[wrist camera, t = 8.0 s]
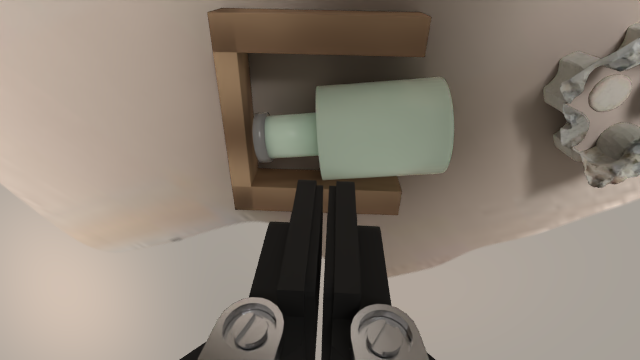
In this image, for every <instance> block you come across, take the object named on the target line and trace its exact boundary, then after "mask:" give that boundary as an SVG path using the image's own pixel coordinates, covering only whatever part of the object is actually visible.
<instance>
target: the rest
mask: <svg viewBox="0 0 640 360" xmlns="http://www.w3.org/2000/svg"><path fill="white" fill-rule="evenodd" d="M207 13H208V20H209V28H210V35H211V42H212V49H213V56H214V63H215V70H216V77H217V84H218V91H219V98H220V105H221V112H222V119H223V127H224V134H225V141H226V148H227V155H228V162H229V169H230V176H231V183H232V190H233V197H234V204H235V209H236V210H265V211H292V209H293V204H294V199H295V193H296V188H297V183H298V180H316V181H317V185H323V213H328V197H329V186H336V181H347V182H355V196H356V213H357V214H380V215H398V212H399V206H400V200H401V194H402V191H401V187H400V184H399V181H398V178H397V176H388V177H370V178H352V179H334V180H322V176H321V170H301V169H270V168H258V159H257V156H256V153H255V149H254V144H253V132H252V127H253V118H254V114H253V103H252V92H251V81H250V70H249V59H248V53H276V54H318V55H360V56H402V57H425V52H426V46H427V40H428V34H429V29H430V23H431V17H430V16H428V15H426V14H423V13H421V12H386V11H338V10H290V9H242V8H220V9H217V10H213V11H210V12H207Z"/></svg>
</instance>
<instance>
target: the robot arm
mask: <svg viewBox="0 0 640 360" xmlns="http://www.w3.org/2000/svg"><path fill="white" fill-rule="evenodd" d="M322 224H323V185H317V181H316V180H298V183H297V188H296V193H295V199H294V204H293V209H292V214H291V219H290V223H288V222H270V223H269V225H268V229H267V232H266V236H265V240H264V244H263V247H262V251H261V254H260V259H259V262H258V266H257V269H256V273H255V277H254V280H253V284H252V288H251V292H250V295H249V298H246V299H241V300H239V301H237V302H235V303H233V304H232V305H230V306H229V307H228V308H227V309H226V310H224V311H223V313H222V314H221V316H220V317H219V319H218V320H217V322H216V324H215V326H214V328H213V330H212V332H211V334H210V336H209V338H208V340H207V342H205V343H204V344H202V345H201V346H199V347H198V348H196V349H195V350H193V351H192V352H190V353H189V354H187V355H186V356H184V357H183V358H181V359H180V360H315V351H316V336H317V320H318V305H319V290H320V275H321V274H320V273H321V259H322ZM321 360H435V359H434V358H433V357H432V356H430V355H429V354H428V353H427V352H426V350H425V347H424V344H423V341H422V338H421V336H420V333H419V331H418V329H417V327H416V325H415V323H414V321H413V320H412V319H411V318H410V317H409V316H408V315H407V314H406V313H404V312H403V311H401V310H400V309H398V308H396V307H393V306H391V300H390V293H389V286H388V279H387V272H386V265H385V258H384V251H383V244H382V237H381V231H380V227H377V226H357V213H356V196H355V182H347V181H336V186H329V197H328V216H327V235H326V253H325V273H324V294H323V325H322V358H321Z"/></svg>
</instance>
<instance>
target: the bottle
mask: <svg viewBox="0 0 640 360" xmlns="http://www.w3.org/2000/svg"><path fill="white" fill-rule="evenodd" d="M252 132H253V144H254V149H255V153H256V156H257V159H258V161H259V162H261V163H262V162H272V161H273V159H274V158H287V157H303V156H319V163H320V170H321V176H322V180H334V179H352V178H370V177H388V176H406V175H424V174H442V173H444V172H445V171H446V169H447V168H448V166H449V163H450V159H451V155H452V150H453V141H454V113H453V104H452V98H451V94H450V90H449V87H448V85H447V83H446V81H445V79H444V78H443V77H430V78H417V79H404V80H391V81H378V82H365V83H352V84H339V85H326V86H317V87H316V113H302V114H288V115H274V116H270V114H269V113H268V112H265V113H256V114H255V115H254V118H253V127H252Z"/></svg>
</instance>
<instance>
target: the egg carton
mask: <svg viewBox="0 0 640 360" xmlns="http://www.w3.org/2000/svg"><path fill="white" fill-rule="evenodd" d="M639 64H640V22H638V23H635V24H633V25H631V26H630V27H628V29H627V33H626V36H625V39H624V41H623V43H622V45H621V46H620V47H619V49H618V50H617V51H616V52H614V53H612V54H610V55H608V56H606V57H604V58H602V59H601V58H598V57H596V56H592V55H589V54H587V53H584V52H581V51H576V52H574V53H571V54H569V55H567V56H565V57H563V58H562V59H560V61H559V69H558V72H557V74H556V76H555V77H554V79H553V80H552V81H551V82H550V83H549V84H547V85H546V86H545V87H544V89H543V94H544V101H545V102H546V103H547V104H549V105H551V106H553V107H554V108H556V109H557V110H559V111H561V112H562V113H563V114H564V117H565V119H566V120H567V122H566V124H565V125H564V126H563V127H561V128H560V130H559V131H558V132H556V133H555V134H553V139H554V144H555V147H557V148H558V149H559V150H561V151H562V152H563V153H565V154H566V155H567V156H568V157H570V158H572V159H573V160H574V161H577V162H583V164H584V166H583V167H584V174H585V175H586V177H587V180H588V183H589V185H591V186H593V187H598V188H602V187H604V186H606V185H607V184H609V183H610V184H618V183H620V182H623V181H624V180H625V179H627V178H630V177H636V176H638V175H639V174H640V127H638V126H636V125H633V124H630V123H617V124H614V125H613V126H611V127H609V128H608V129H606V130H605V131H604V132H603V133H602V134H601V135H600V137H599V138H598V140H597V142H596V146H595V147H593V148H590V149H588V150H586V151H582V152H579V151H578V150H576V149H575V148H573V146H576V145H578V144H579V143H580V142H581V141H582V140H583V139H584V138H585V136H586V134H587V131H588V129H589V123H590V122H589V120H588V118H587V117H586V116H585V115H584V114H583V113H581V112H579V111H578V110H576V109H574V108H572V107H570V106H568V105H566V104H567V103H571V102H572V100H573V99H574V98H575V97H576V96H578V95H580V94H581V93H582V92H583V91H584V85H585V83H586V81H587V78H588V75H589V74H590V73H591V72H592V71H593V70H594V69H595V68H596V67H599V66H601V65H602V66H605V67H607V68H611V69H614V70H617V71H624V70H628V69H630V68H633V67H635V66H637V65H639ZM631 90H632V82H631V79H629V78H628V77H627V76H626V75H621V74H617V75H611V76H608V77H606V78H604V79H602V80H601V81H600V82H598V83H597V84H596V85H595V87H594V88H593V89H592V91H591V93H590V95H589V105H590V107H592V108H593V109H594V110H595V111H600V112H605V111H610V110H613V109H615V108H617V107H618V106H619V105H621V104H622V103H623V102H624V101H625V100H626V99H627V98H628V96H629V95H630V93H631Z"/></svg>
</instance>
